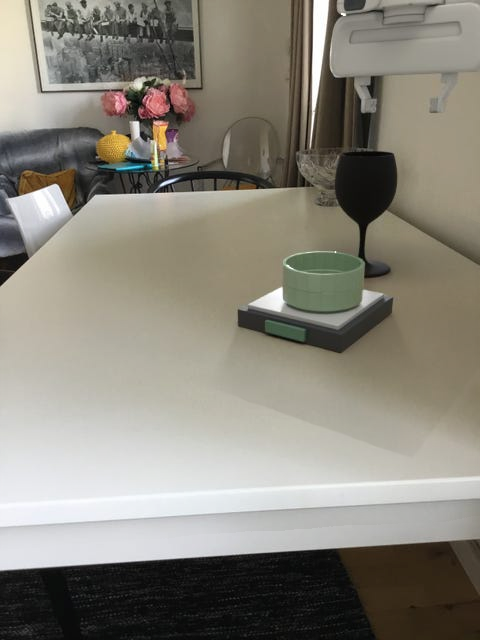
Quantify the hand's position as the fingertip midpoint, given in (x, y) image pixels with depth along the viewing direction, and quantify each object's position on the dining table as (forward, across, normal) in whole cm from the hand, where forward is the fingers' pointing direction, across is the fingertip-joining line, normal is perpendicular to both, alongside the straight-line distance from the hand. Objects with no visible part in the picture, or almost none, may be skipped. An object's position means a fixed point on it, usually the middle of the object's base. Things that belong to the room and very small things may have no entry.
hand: (401, 112), depth 75 cm
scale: (+27, +6, +11) cm, 30 cm away
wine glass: (+27, +11, -14) cm, 33 cm away
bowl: (+24, +5, +11) cm, 27 cm away
